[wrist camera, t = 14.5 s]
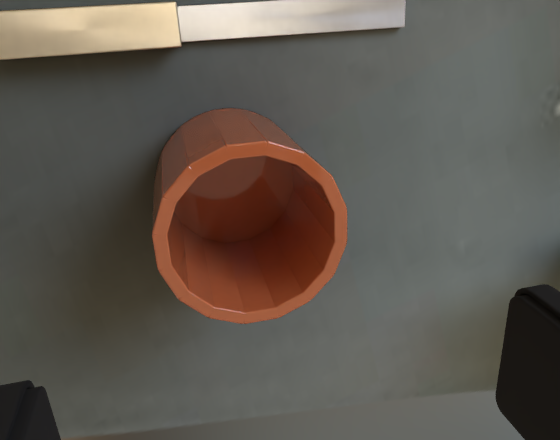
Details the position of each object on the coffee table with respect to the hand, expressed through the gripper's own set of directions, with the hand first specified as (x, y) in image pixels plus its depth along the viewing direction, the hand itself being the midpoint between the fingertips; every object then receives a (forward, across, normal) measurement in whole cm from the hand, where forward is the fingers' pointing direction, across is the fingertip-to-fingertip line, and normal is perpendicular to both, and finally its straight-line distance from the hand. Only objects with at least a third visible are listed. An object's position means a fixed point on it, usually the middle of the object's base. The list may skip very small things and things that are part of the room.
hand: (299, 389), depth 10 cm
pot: (+15, -1, 0) cm, 15 cm away
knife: (+15, -1, -6) cm, 16 cm away
